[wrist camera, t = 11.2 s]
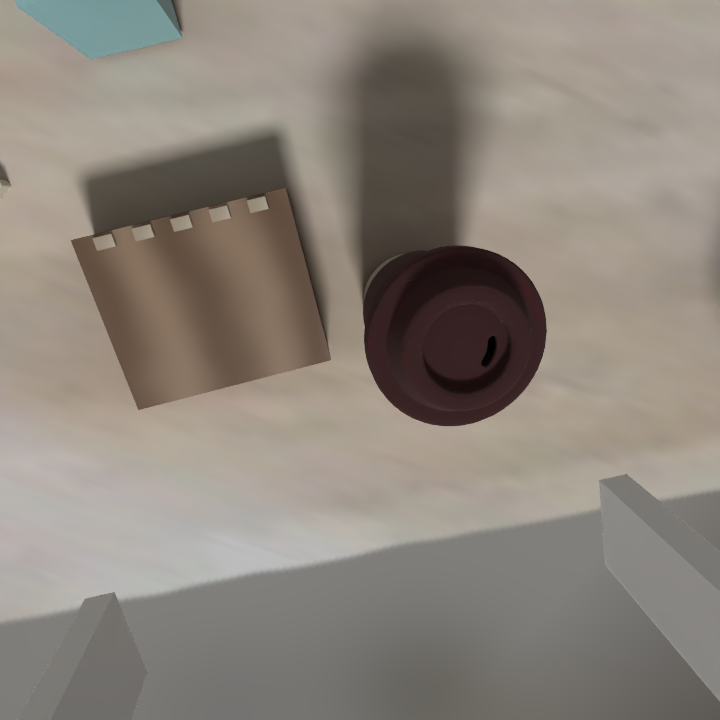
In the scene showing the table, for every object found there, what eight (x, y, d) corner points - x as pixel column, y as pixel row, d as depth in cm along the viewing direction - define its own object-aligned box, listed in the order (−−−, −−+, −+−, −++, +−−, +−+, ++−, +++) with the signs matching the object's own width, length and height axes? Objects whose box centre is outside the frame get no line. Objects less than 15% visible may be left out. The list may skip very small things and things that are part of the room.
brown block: (286, 189, 37) (285, 187, 33) (328, 345, 41) (331, 360, 37) (94, 237, 36) (69, 240, 32) (153, 390, 40) (137, 411, 36)
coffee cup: (318, 298, 39) (329, 349, 25) (413, 206, 38) (482, 204, 24) (403, 384, 42) (456, 473, 28) (494, 300, 41) (598, 350, 27)
